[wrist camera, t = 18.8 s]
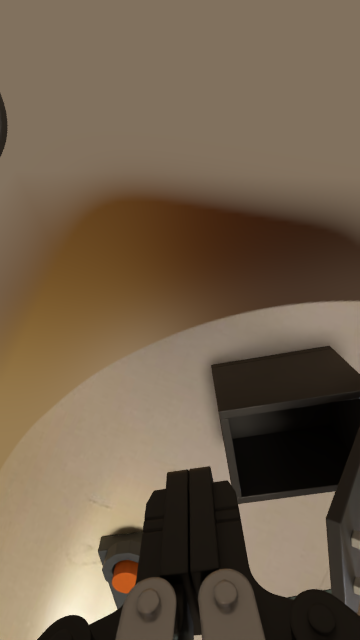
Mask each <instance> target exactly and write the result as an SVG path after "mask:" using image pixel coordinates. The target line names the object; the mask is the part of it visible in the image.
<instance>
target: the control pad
mask: <svg viewBox="0 0 360 640" xmlns="http://www.w3.org/2000/svg"><path fill="white" fill-rule="evenodd" d="M142 533H143V532H137V533H129V534H121V535H114V536H106V537H101V541H100V545H99V549H98V553H99V556H100V559H101V562H102V565H103V568H102V571H103V574H104V577H105V579H106V581H108V583H109V586H110V589H111V591H112V594H113V597H114V600H115V603H116V606H117V609H119V608H120V607H121V606H122V605H123V604H124V601H125V598H126V596H127V595H128V593H121V592H119V591H117V590H116V589H115V588H114V587H113V585H112V578H113V573H114V568H115V566H116V564H117V563H118V562H120V561H123V560H130V561H134V562H137V563H139V555H140V548H141V540H142Z"/></svg>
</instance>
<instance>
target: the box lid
mask: <svg viewBox="0 0 360 640" xmlns="http://www.w3.org/2000/svg"><path fill="white" fill-rule="evenodd" d="M326 527H327V540H328V553H329V566H330V579H331V592H332V595H334V596H335V597H337V598H338V599H340V600H341V601H342V602H343V603H344V604H346V605H347V606H348V607H349V608H351V609H352V610H353V611H354V612H356V613H357V612H358V607H359V603H360V426H359V429H358V432H357V434H356V437H355V440H354V443H353V445H352V448H351V451H350V454H349V456H348V459H347V462H346V465H345V467H344V470H343V473H342V476H341V478H340V481H339V484H338V487H337V489H336V492H335V495H334V498H333V500H332V503H331V506H330V509H329V511H328V514H327V517H326Z"/></svg>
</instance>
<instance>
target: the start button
mask: <svg viewBox="0 0 360 640" xmlns="http://www.w3.org/2000/svg"><path fill="white" fill-rule="evenodd" d="M137 570H138V563H137V562H134V561H130V560H123V561H120V562H118V563H117V564H116V566H115V568H114V573H113V578H112V585H113V587H114V588H115V589H116V590H117V591H119V592H121V593H129V591H130V590H131V589H132V588H133V587H134V586H135V583H136V577H137Z"/></svg>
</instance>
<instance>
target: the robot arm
mask: <svg viewBox="0 0 360 640" xmlns="http://www.w3.org/2000/svg"><path fill="white" fill-rule="evenodd" d="M194 635H202V640H360V616H359V615H358V614H357V613H356V612H354V611H353V610H352V609H351V608H349V607H348V606H347V605H346V604H344V603H343V602H342V601H341V600H340V599H338V598H337V597H335V596H334V595H332V594H330V593H328V592H326V591H323V590H318V589H311V590H306V591H304V592H302V593H300V594H299V595H298V596H297V597H296V598H295V599H290V598H286V597H282V596H278V595H275V594H272V593H270V592H268V591H266V590H265V589H264V588H262V587H261V586H260V585H259V584H258V583H257V582H256V580H255V579H254V577H253V576H252V574H251V571H250V568H249V564H248V558H247V553H246V547H245V541H244V536H243V530H242V524H241V519H240V513H239V507H238V502H237V496H236V491H235V490H234V489H233V487H232V486H231V485H230V483H229V482H228V481H220V482H213V478H212V473H211V468H210V466H208V467H201V468H194V469H190V470H181V471H174V472H168V473H167V481H166V489H162V490H155V491H154V492H153V493H152V495H151V497H150V499H149V500H148V502H147V504H146V511H145V521H144V526H143V533H142V540H141V548H140V555H139V563H138V570H137V577H136V583H135V586H134V587H133V588H132V589H131V590H130V591H129V593H128V595H127V596H126V598H125V601H124V604H123V605H122V606H121V607H120V608H119V609H118V610H116V611H115V612H113V613H112V614H110V615H108V616H106V617H104V618H102V619H100V620H98V621H96V622H94V623H92V624H90V625H88V623H87V621H86V620H85V619H84V618H82V617H80V616H77V615H69V616H65V617H63V618H61V619H59V620H57V621H56V622H54V623H53V624H52V625H51V626H49V627H48V628H47V629H46V631H45V632H44V633H43V634H42V635H41V636H40V637H39V638H38V639H37V640H194Z"/></svg>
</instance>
